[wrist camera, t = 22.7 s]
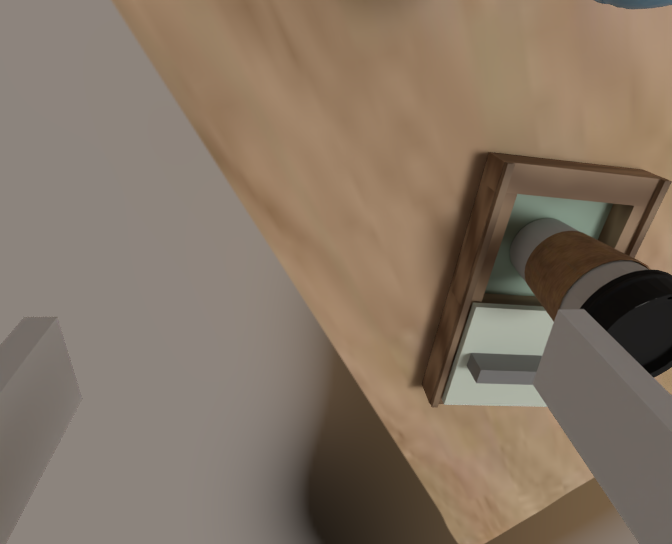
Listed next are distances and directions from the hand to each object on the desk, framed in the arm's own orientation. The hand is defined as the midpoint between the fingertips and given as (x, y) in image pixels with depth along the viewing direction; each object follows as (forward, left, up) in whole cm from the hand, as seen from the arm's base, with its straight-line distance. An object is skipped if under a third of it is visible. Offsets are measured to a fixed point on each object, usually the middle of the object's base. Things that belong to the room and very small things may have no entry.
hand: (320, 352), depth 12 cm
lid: (+19, +24, -24) cm, 39 cm away
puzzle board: (+13, +24, -27) cm, 39 cm away
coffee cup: (+8, +24, -27) cm, 37 cm away
